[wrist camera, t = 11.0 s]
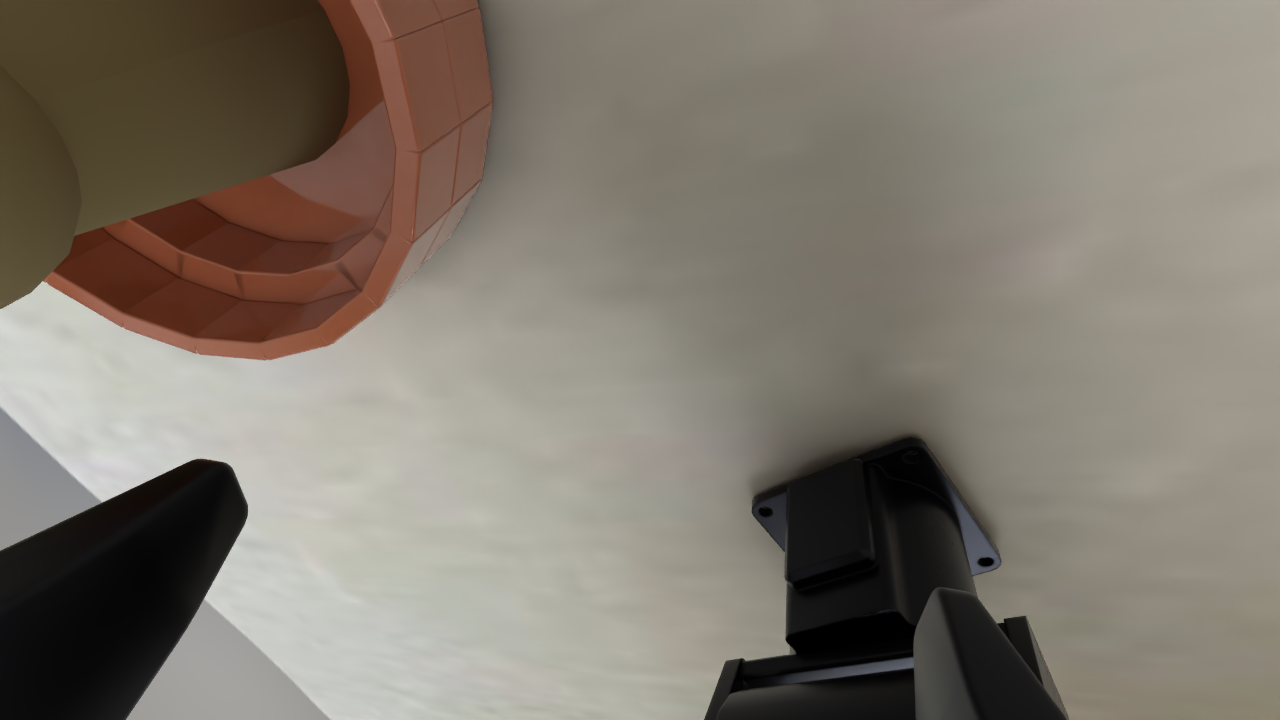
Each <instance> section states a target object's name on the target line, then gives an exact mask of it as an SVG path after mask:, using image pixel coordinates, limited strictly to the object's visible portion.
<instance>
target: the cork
mask: <svg viewBox="0 0 1280 720" xmlns="http://www.w3.org/2000/svg"><path fill="white" fill-rule="evenodd" d="M349 91H350V82H349V78H348V73H347V68H346V63H345V58H344V54H343V49H342V46H341V44H340V42H339V40H338V37H337V35H336V33H335V31H334V29H333V27H332V25H331V23H330V21H329V19H328V16H327V14H326V12H325V10H324V8H323V7H322V6H321V5H320V3H319V2H318V1H317V0H0V309H2V308H4V307H5V306H7V305H9V304H11V303H13V302H15V301H16V300H18V299H20V298H22V297H24V296H25V295H27V294H29V293H31V292H32V291H33V290H34V289H35V288H36V287H37V286H38V285H39V284H40V283H41V282H42V281H43V280H44V279H45V278H46V277H47V276H48V275H49V274H50V273H51V272H52V271H53V270H54V269H55V268H56V267H57V266H58V265H59V264H60V263H61V262H62V261H63V260H64V259H65V258H66V257H67V256H68V255H69V254H70V250H71V246H72V242H73V239H74V236H76V235H79V234H82V233H85V232H88V231H92V230H95V229H98V228H101V227H104V226H108V225H111V224H114V223H117V222H120V221H123V220H127V219H130V218H133V217H136V216H139V215H143V214H146V213H149V212H152V211H155V210H158V209H162V208H165V207H168V206H171V205H174V204H178V203H181V202H184V201H187V200H190V199H193V198H197V197H200V196H203V195H206V194H209V193H213V192H216V191H219V190H222V189H225V188H228V187H232V186H235V185H238V184H241V183H244V182H248V181H251V180H254V179H257V178H260V177H263V176H267V175H270V174H273V173H276V172H279V171H283V170H286V169H289V168H292V167H295V166H298V165H302V164H305V163H308V162H311V161H314V160H317V159H318V158H319V157H320V156H321V155H322V154H324V153H325V152H326V151H327V150H328V149H329V148H331V147H332V146H333V145H334V144H335V143H336V141H337V139H338V137H339V135H340V132H341V130H342V128H343V126H344V124H345V122H346V119H347V116H348V103H349Z"/></svg>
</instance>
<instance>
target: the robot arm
mask: <svg viewBox="0 0 1280 720" xmlns="http://www.w3.org/2000/svg"><path fill="white" fill-rule="evenodd" d="M910 451H915V452H917V453H916V454H913V455H908V454H906V453H907V452H910ZM762 507H769V508H768V509H765V508H762ZM752 514H753V516H754V517H755V518H756V519H757V521H758V522H759V523H760V524H761V525H762V526H763V527H764V529H765V530H766V531H767V532H768V533H769V534H770V536H771V537H772V538H773V539H774V540H775V541H776V543H777V544H778V545H779V546H780V547H781V548H782V550H783V551H784V552H785V575H784V577H785V580H786V581H787V595H786V638H785V639H786V641H787V643H788V644H789V645H790V655H783V656H776V657H769V658H763V659H756V660H749V661H745V660H744V659H743V658H741V659H735V660H728V661H726V662H725V664H724V667H723V670H722V673H721V675H720V678H719V681H718V684H717V686H716V689H715V692H714V694H713V697H712V700H711V703H710V705H709V708H708V711H707V714H706V716H705V719H704V720H1069V717H1068V714H1067V712H1066V709H1065V707H1064V705H1063V702H1062V700H1061V698H1060V695H1059V693H1058V690H1057V688H1056V686H1055V683H1054V681H1053V679H1052V676H1051V674H1050V672H1049V669H1048V667H1047V665H1046V662H1045V660H1044V657H1043V655H1042V653H1041V650H1040V648H1039V646H1038V643H1037V641H1036V639H1035V636H1034V634H1033V632H1032V629H1031V627H1030V624H1029V622H1028V620H1027V617H1026V616H1020V617H1013V618H1007V619H1004V622H1005V623H998V624H997V623H996V622H995V621H994V619H993V618H992V617H991V615H990V614H989V613H988V611H987V610H986V609H985V607H984V606H983V604H982V603H981V602H980V600H979V599H978V597H977V593H976V589H975V585H974V581H973V577H972V576H974V575H978V574H982V573H985V572H989V571H992V570H995V569H997V568H998V567H999V566H1000V565H1001V562H1002V561H1001V558H1000V554H999V551H998V548H997V547H996V546H995V544H994V543H993V541H992V540H991V538H990V537H989V535H988V534H987V532H986V531H985V530H984V528H983V527H982V525H981V524H980V522H979V521H978V519H977V518H976V516H975V515H974V513H973V512H972V511H971V509H970V508H969V506H968V505H967V503H966V502H965V500H964V499H963V497H962V496H961V495H960V493H959V492H958V490H957V489H956V487H955V486H954V484H953V483H952V481H951V480H950V478H949V477H948V476H947V474H946V473H945V471H944V470H943V468H942V467H941V465H940V464H939V462H938V461H937V460H936V458H935V457H934V455H933V454H932V452H931V451H930V449H929V448H928V446H927V445H926V444H925V443H924V442H923V441H922V440H921V439H918V438H913V437H909V438H904V439H901V440H899V441H896V442H894V443H891V444H888V445H886V446H883V447H881V448H878V449H876V450H873V451H870V452H868V453H865V454H863V455H860V456H857V457H855V458H852V459H850V460H847V461H845V462H842V463H839V464H837V465H834V466H832V467H829V468H826V469H824V470H821V471H819V472H816V473H814V474H811V475H808V476H806V477H803V478H801V479H798V480H796V481H793V482H790V483H788V484H785V485H783V486H780V487H777V488H775V489H772V490H770V491H767V492H765V493H762V494H759V495H757V496H756V497H754V499H753V501H752ZM247 516H248V505H247V502H246V499H245V497H244V494H243V492H242V489H241V487H240V485H239V482H238V480H237V477H236V475H235V473H234V470H233V469H232V467H231V466H230V465H228V464H227V463H224V462H219V461H213V460H207V459H196V460H192V461H190V462H187V463H185V464H183V465H181V466H179V467H177V468H175V469H173V470H171V471H168V472H166V473H164V474H162V475H160V476H158V477H156V478H154V479H151V480H149V481H147V482H145V483H143V484H141V485H139V486H137V487H135V488H132V489H130V490H128V491H126V492H124V493H122V494H120V495H118V496H116V497H113V498H111V499H109V500H107V501H105V502H103V503H101V504H99V505H96V506H95V507H92V508H90V509H88V510H86V511H84V512H82V513H80V514H77V515H75V516H73V517H71V518H69V519H67V520H65V521H63V522H60V523H58V524H56V525H54V526H52V527H50V528H48V529H46V530H44V531H41V532H39V533H37V534H35V535H33V536H31V537H29V538H27V539H24V540H23V541H20V542H18V543H16V544H14V545H12V546H10V547H7V548H5V549H3V550H1V551H0V720H126V718H127V717H128V716H129V714H130V713H131V711H132V710H133V708H134V707H135V705H136V704H137V702H138V701H139V699H140V698H141V696H142V695H143V693H144V692H145V690H146V689H147V688H148V686H149V685H150V683H151V682H152V680H153V679H154V677H155V676H156V674H157V673H158V671H159V670H160V668H161V667H162V665H163V664H164V662H165V661H166V659H167V658H168V656H169V655H170V653H171V652H172V651H173V649H174V648H175V646H176V644H177V643H178V642H179V640H180V638H181V637H182V635H183V633H184V632H185V631H186V629H187V628H188V626H189V624H190V622H191V621H192V619H193V617H194V615H195V614H196V612H197V610H198V609H199V607H200V605H201V603H202V601H203V599H204V598H205V596H206V594H207V592H208V590H209V589H210V587H211V585H212V583H213V581H214V579H215V578H216V576H217V574H218V572H219V570H220V568H221V567H222V565H223V563H224V561H225V559H226V557H227V556H228V554H229V552H230V550H231V548H232V547H233V545H234V543H235V541H236V539H237V537H238V536H239V534H240V532H241V530H242V528H243V526H244V524H245V522H246V519H247ZM982 557H987V558H982Z"/></svg>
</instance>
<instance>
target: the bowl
mask: <svg viewBox="0 0 1280 720" xmlns="http://www.w3.org/2000/svg"><path fill="white" fill-rule="evenodd" d="M317 1H318V2H319V3H320V5H321V6H322V7H323V8H324V10H325V12H326V14H327V16H328V19H329V21H330V23H331V25H332V27H333V29H334V31H335V33H336V35H337V37H338V40H339V42H340V44H341V46H342V49H343V54H344V58H345V63H346V68H347V73H348V78H349V82H350V91H349V103H348V116H347V119H346V122H345V124H344V126H343V128H342V130H341V132H340V135H339V137H338V139H337V141H336V143H335V144H334V145H333V146H332V147H331V148H329V149H328V150H327V151H326V152H325V153H324V154H322V155H321V156H320V157H319V158H318V159H317V160H314V161H311V162H308V163H305V164H302V165H298V166H295V167H292V168H289V169H286V170H283V171H279V172H276V173H273V174H270V175H267V176H263V177H260V178H257V179H254V180H251V181H248V182H244V183H241V184H238V185H235V186H232V187H228V188H225V189H222V190H219V191H216V192H213V193H209V194H206V195H203V196H200V197H197V198H193V199H190V200H187V201H184V202H181V203H178V204H174V205H171V206H168V207H165V208H162V209H158V210H155V211H152V212H149V213H146V214H143V215H139V216H136V217H133V218H130V219H127V220H123V221H120V222H117V223H114V224H111V225H108V226H104V227H101V228H98V229H95V230H92V231H88V232H85V233H82V234H79V235H76V236H74V239H73V242H72V246H71V250H70V254H69V255H68V256H67V257H66V258H65V259H64V260H63V261H62V262H61V263H60V264H59V265H58V266H57V267H56V268H55V269H54V270H53V271H52V272H51V273H50V274H49V275H48V276H47V277H46V278H45V279H44V280H43V281H44V282H47V283H48V285H50V286H52V287H53V288H55V289H57V290H59V291H60V292H62V293H64V294H65V295H67V296H69V297H70V298H72V299H74V300H76V301H77V302H79V303H81V304H82V305H84V306H86V307H88V308H89V309H91V310H93V311H94V312H96V313H98V314H100V315H101V316H103V317H105V318H106V319H108V320H110V321H112V322H113V323H115V324H117V325H118V326H120V327H124V328H125V329H127V330H129V331H132V332H135V333H138V334H141V335H144V336H147V337H150V338H152V339H155V340H158V341H161V342H164V343H167V344H170V345H172V346H175V347H178V348H181V349H184V350H187V351H190V352H193V353H195V354H200V355H211V356H222V357H233V358H245V359H256V360H272V359H276V358H280V357H284V356H288V355H293V354H297V353H301V352H305V351H309V350H313V349H317V348H321V347H325V346H329V345H330V344H333V343H335V342H336V341H337V340H339V339H340V338H341V337H342V336H344V335H345V334H346V333H348V332H349V331H350V330H352V329H353V328H354V327H355V326H357V325H358V324H359V323H361V322H362V321H363V320H365V319H366V318H367V317H368V316H370V315H371V314H372V313H374V312H375V311H376V310H377V309H379V308H380V307H381V306H382V305H383V304H384V303H385V302H386V301H387V300H388V299H389V298H390V297H391V296H392V295H393V294H394V293H395V292H396V291H397V290H398V289H399V288H400V287H401V286H402V285H403V284H404V283H405V282H406V281H407V280H408V279H409V278H410V277H411V276H412V275H413V274H414V273H415V272H416V271H417V270H418V269H419V268H420V267H421V266H422V265H423V264H424V263H425V262H426V261H427V260H428V259H429V258H430V257H431V256H432V255H433V254H434V253H435V252H436V251H437V250H438V249H439V248H440V247H441V246H442V245H443V244H444V243H445V242H446V241H447V240H448V239H449V238H450V237H451V236H452V234H453V232H454V231H455V229H456V227H457V225H458V223H459V221H460V220H461V218H462V216H463V214H464V212H465V210H466V209H467V207H468V205H469V203H470V201H471V199H472V198H473V196H474V194H475V192H476V190H477V189H478V187H479V185H480V183H481V181H482V179H481V178H482V177H483V170H484V163H485V156H486V149H487V143H488V136H489V129H490V122H491V115H492V109H493V102H492V101H493V93H492V87H491V80H490V73H489V67H488V60H487V53H486V46H485V40H484V33H483V26H482V20H481V13H480V9H479V8H478V7H479V4H478V2H477V0H317Z"/></svg>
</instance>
